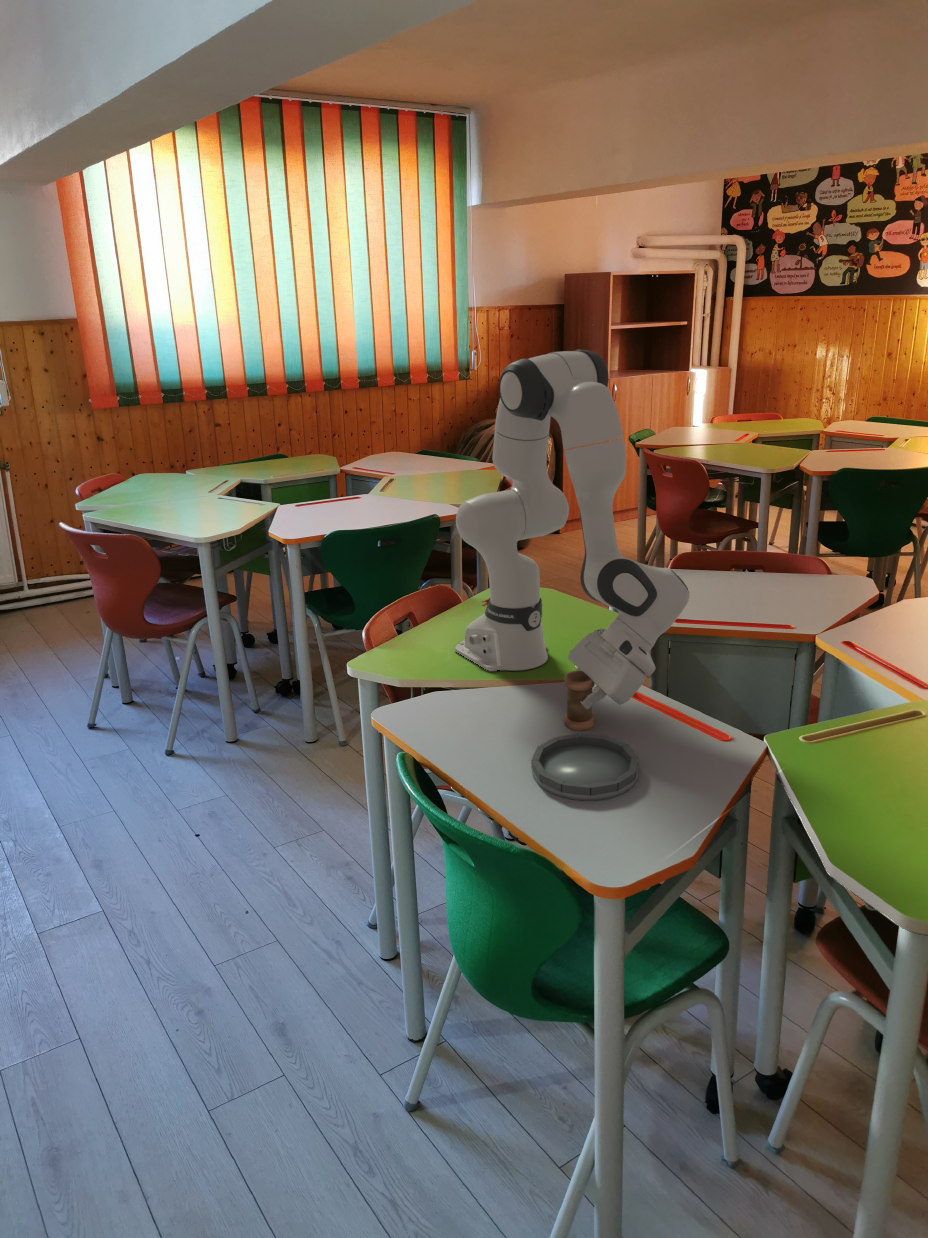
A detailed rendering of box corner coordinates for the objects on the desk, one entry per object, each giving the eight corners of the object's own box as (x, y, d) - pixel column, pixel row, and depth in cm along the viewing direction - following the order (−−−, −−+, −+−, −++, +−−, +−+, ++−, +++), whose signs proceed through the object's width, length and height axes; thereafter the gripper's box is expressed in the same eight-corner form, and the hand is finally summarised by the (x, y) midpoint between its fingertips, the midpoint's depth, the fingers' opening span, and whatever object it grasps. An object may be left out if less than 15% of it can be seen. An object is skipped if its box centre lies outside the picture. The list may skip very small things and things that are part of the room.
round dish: (510, 773, 155) (510, 760, 154) (578, 735, 167) (578, 723, 166) (592, 813, 143) (593, 800, 142) (659, 770, 154) (660, 757, 153)
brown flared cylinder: (558, 724, 171) (558, 677, 168) (577, 714, 175) (577, 668, 171) (581, 733, 168) (581, 685, 164) (600, 723, 171) (600, 676, 168)
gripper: (590, 616, 176) (544, 669, 177) (638, 654, 158) (588, 713, 159) (610, 634, 179) (565, 686, 180) (660, 673, 161) (610, 730, 162)
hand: (576, 699), depth 169 cm, fingers closed on brown flared cylinder, 5 cm apart
